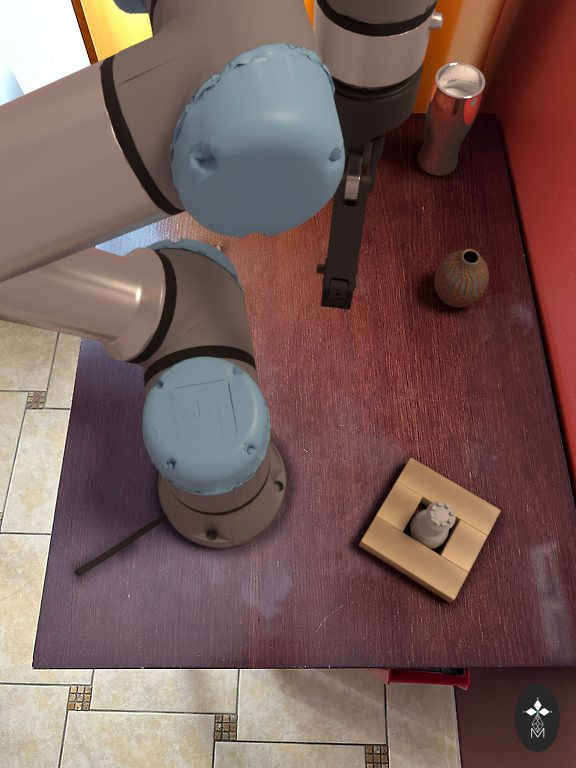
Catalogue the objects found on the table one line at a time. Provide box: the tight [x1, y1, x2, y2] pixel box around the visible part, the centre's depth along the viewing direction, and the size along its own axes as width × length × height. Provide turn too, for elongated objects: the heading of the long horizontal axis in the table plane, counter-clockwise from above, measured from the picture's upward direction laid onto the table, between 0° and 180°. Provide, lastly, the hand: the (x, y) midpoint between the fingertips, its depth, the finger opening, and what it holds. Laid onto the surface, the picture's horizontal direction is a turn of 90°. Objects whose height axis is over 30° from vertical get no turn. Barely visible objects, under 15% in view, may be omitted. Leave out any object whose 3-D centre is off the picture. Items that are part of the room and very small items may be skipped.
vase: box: [433, 248, 490, 309], centre depth 90 cm, size 7×7×9 cm
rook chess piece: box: [409, 501, 456, 549], centre depth 77 cm, size 4×4×8 cm
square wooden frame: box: [358, 457, 502, 603], centre depth 80 cm, size 12×12×2 cm
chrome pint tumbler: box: [416, 61, 486, 177], centre depth 97 cm, size 7×7×15 cm
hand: (343, 243), depth 65 cm, fingers open, 13 cm apart
